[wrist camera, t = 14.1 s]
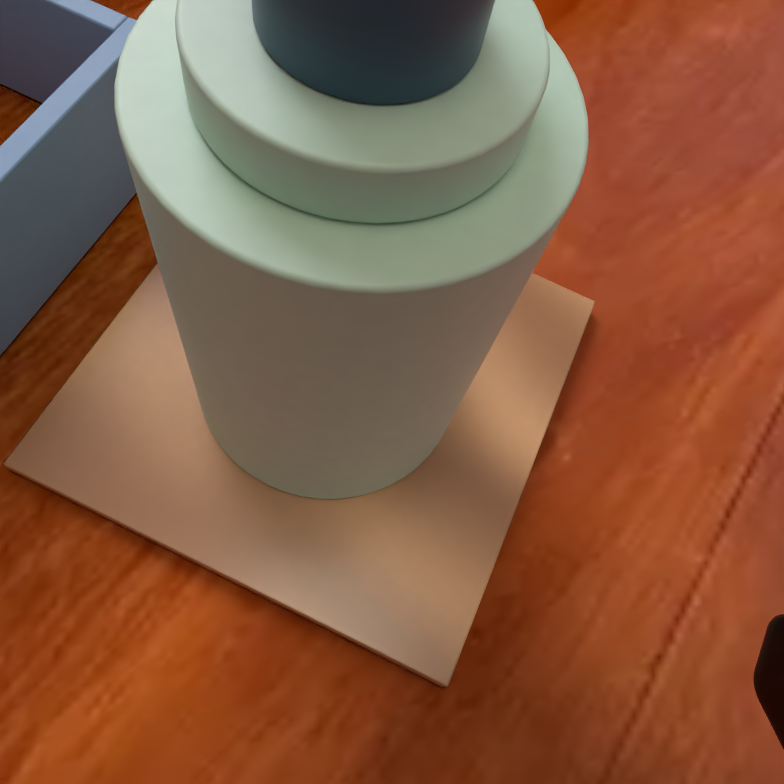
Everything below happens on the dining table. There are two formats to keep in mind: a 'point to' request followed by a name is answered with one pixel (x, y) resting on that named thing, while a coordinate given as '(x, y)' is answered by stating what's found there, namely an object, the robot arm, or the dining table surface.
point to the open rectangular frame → (57, 147)
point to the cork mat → (304, 514)
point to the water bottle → (344, 212)
